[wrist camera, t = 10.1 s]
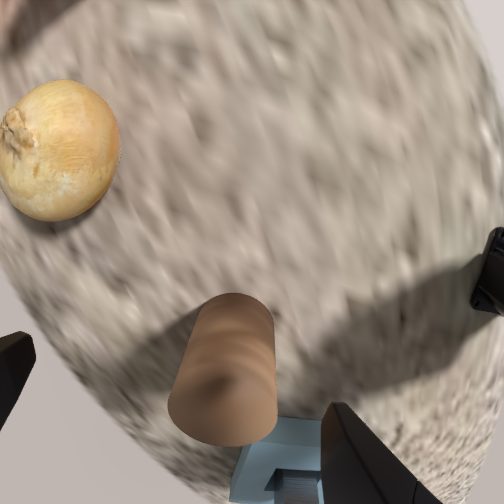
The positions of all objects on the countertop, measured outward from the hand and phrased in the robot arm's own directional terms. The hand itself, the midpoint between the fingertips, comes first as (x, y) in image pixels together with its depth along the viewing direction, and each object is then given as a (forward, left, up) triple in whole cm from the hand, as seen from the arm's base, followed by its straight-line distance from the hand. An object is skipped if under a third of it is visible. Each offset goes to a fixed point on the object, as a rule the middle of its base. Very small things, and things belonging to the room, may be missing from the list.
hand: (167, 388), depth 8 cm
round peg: (-2, +5, -12) cm, 13 cm away
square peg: (-10, +19, -12) cm, 25 cm away
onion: (+10, -5, -12) cm, 17 cm away
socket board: (-10, +19, -12) cm, 25 cm away
